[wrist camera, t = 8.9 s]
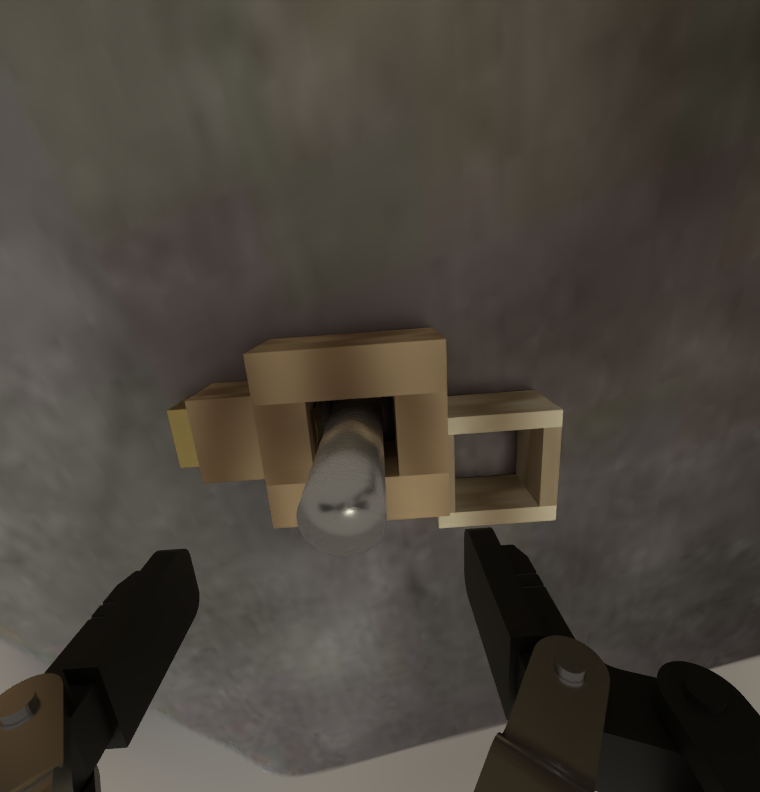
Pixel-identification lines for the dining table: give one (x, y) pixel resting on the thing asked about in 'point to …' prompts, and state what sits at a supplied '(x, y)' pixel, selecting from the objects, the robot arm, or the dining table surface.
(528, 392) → the frame
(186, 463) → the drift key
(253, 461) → the socket block
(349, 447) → the rod
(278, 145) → the dining table surface
